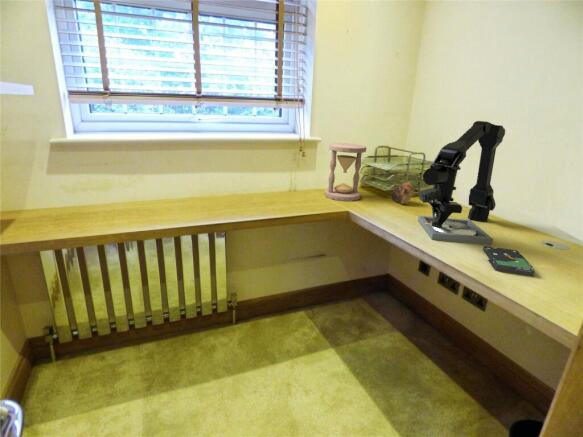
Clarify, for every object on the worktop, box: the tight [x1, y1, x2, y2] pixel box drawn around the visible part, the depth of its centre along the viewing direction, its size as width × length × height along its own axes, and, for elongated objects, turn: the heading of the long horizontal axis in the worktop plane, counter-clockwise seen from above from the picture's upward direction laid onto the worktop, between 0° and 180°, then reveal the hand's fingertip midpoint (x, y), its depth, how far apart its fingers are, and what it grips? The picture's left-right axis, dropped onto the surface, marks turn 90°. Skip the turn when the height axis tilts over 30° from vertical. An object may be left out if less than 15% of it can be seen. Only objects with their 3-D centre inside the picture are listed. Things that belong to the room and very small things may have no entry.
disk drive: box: [482, 245, 536, 277], centre depth 107 cm, size 10×3×15 cm
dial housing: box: [417, 215, 493, 246], centre depth 129 cm, size 20×20×3 cm
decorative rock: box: [391, 180, 415, 205], centre depth 165 cm, size 12×6×11 cm, turn 16°
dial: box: [429, 212, 477, 236], centre depth 128 cm, size 16×16×7 cm
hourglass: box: [324, 142, 367, 202], centre depth 168 cm, size 18×18×25 cm
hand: (437, 223), depth 128 cm, fingers closed on dial, 4 cm apart
